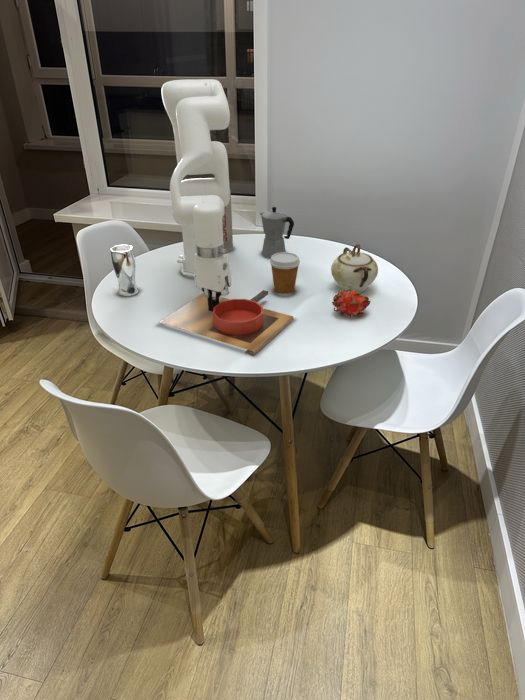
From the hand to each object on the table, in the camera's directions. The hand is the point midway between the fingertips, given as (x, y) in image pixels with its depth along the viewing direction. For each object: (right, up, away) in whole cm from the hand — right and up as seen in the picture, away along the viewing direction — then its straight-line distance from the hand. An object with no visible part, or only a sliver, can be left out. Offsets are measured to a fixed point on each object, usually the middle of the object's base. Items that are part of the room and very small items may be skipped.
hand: (213, 309), depth 145 cm
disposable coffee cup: (+21, +7, +16) cm, 27 cm away
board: (+4, -4, -1) cm, 6 cm away
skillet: (+10, -2, -1) cm, 10 cm away
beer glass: (-29, +7, +16) cm, 34 cm away
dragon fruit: (+40, -1, +3) cm, 41 cm away
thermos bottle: (-1, +27, +48) cm, 55 cm away
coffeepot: (+19, +24, +43) cm, 53 cm away
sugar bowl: (+44, +8, +18) cm, 48 cm away
